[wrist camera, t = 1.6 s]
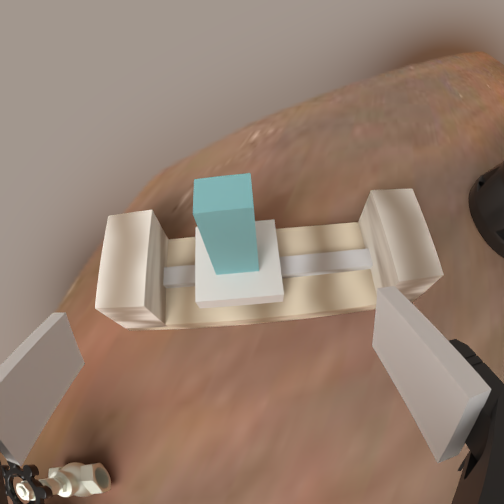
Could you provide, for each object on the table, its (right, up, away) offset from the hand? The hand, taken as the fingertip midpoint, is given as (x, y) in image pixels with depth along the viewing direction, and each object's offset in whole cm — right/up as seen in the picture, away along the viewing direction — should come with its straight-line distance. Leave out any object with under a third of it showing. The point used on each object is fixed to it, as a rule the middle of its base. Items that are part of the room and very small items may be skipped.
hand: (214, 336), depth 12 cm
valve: (-17, -22, +13) cm, 30 cm away
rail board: (+3, 0, +23) cm, 23 cm away
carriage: (0, +1, +21) cm, 21 cm away
